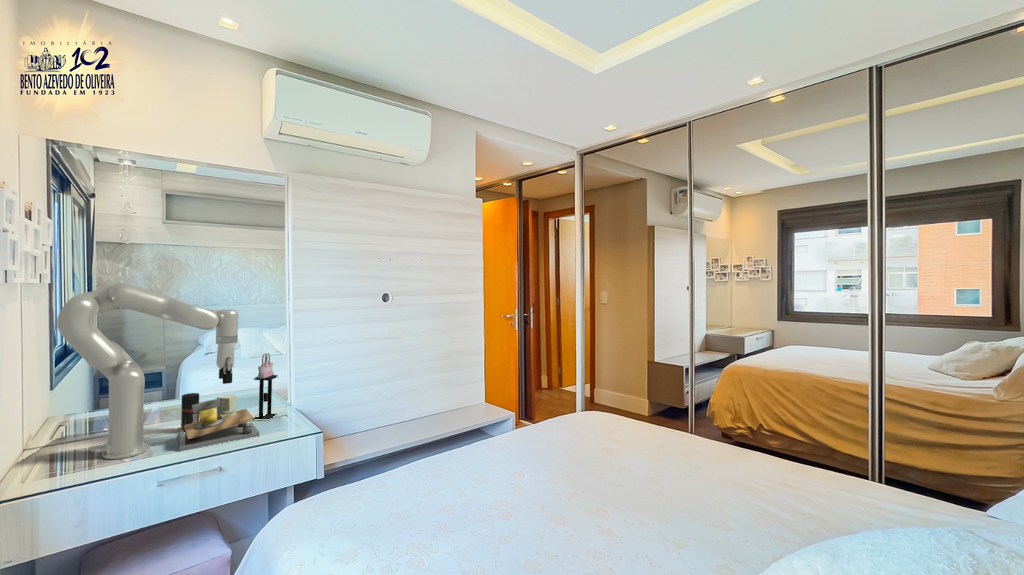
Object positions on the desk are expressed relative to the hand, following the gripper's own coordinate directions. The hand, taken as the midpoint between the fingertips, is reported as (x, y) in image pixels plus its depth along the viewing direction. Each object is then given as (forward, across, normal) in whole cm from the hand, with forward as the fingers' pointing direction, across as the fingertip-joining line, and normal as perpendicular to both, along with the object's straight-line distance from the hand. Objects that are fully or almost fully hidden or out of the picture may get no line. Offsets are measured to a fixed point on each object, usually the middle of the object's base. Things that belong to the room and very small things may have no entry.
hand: (225, 380), depth 178 cm
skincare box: (+22, -13, +3) cm, 26 cm away
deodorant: (+22, -12, -10) cm, 27 cm away
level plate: (+17, +4, -2) cm, 17 cm away
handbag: (+22, -12, +18) cm, 31 cm away
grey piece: (+22, +4, -2) cm, 23 cm away
